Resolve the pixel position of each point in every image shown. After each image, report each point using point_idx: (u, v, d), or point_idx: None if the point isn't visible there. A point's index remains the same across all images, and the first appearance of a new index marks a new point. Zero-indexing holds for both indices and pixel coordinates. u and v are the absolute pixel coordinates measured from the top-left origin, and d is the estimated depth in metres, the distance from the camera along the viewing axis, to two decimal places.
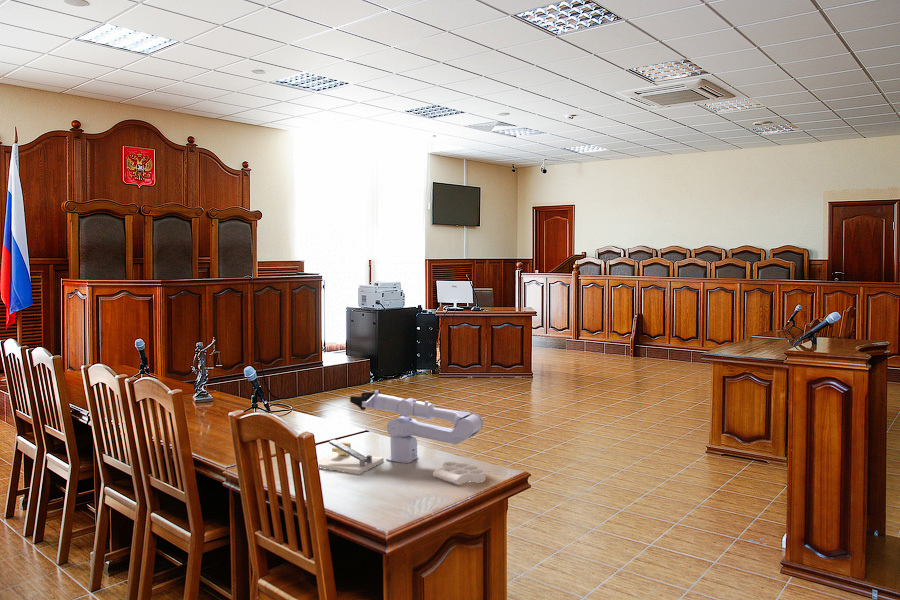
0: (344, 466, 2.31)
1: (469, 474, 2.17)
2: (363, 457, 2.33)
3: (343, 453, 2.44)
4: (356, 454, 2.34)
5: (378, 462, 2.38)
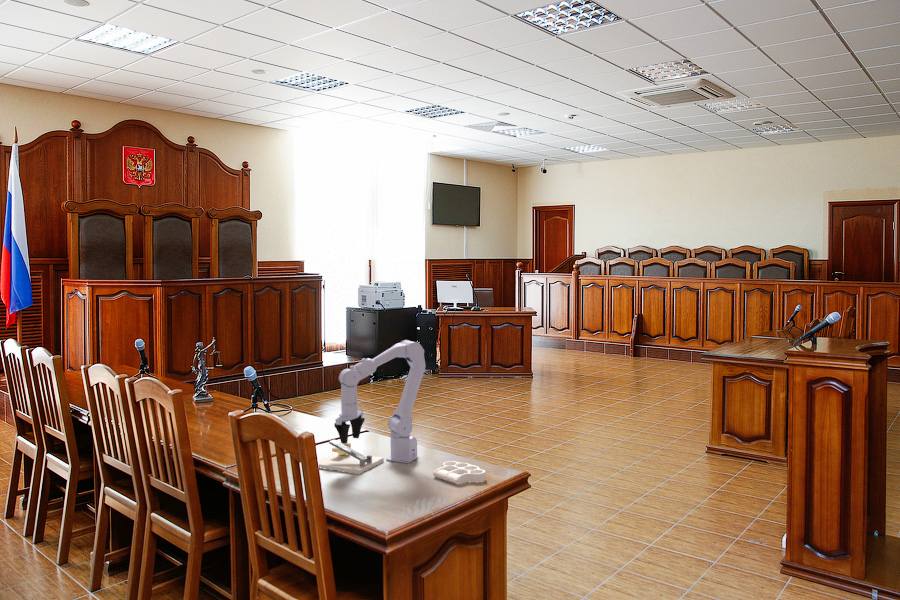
0: (344, 466, 2.31)
1: (469, 474, 2.17)
2: (363, 457, 2.33)
3: (343, 453, 2.44)
4: (356, 454, 2.34)
5: (378, 462, 2.38)
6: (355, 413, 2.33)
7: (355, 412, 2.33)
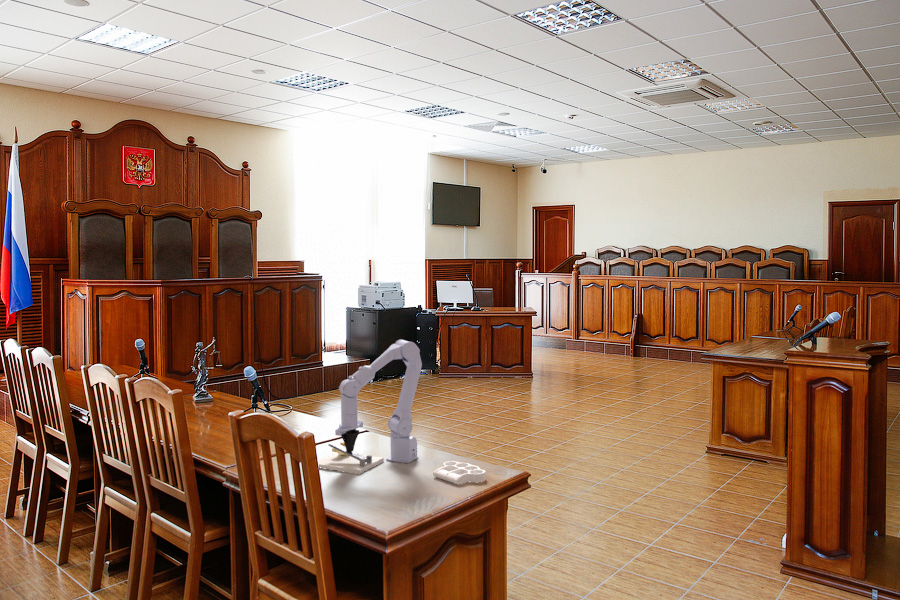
0: (344, 466, 2.31)
1: (469, 474, 2.17)
2: (363, 457, 2.33)
3: (343, 453, 2.44)
4: (356, 455, 2.34)
5: (378, 462, 2.38)
6: (355, 424, 2.33)
7: (355, 423, 2.33)
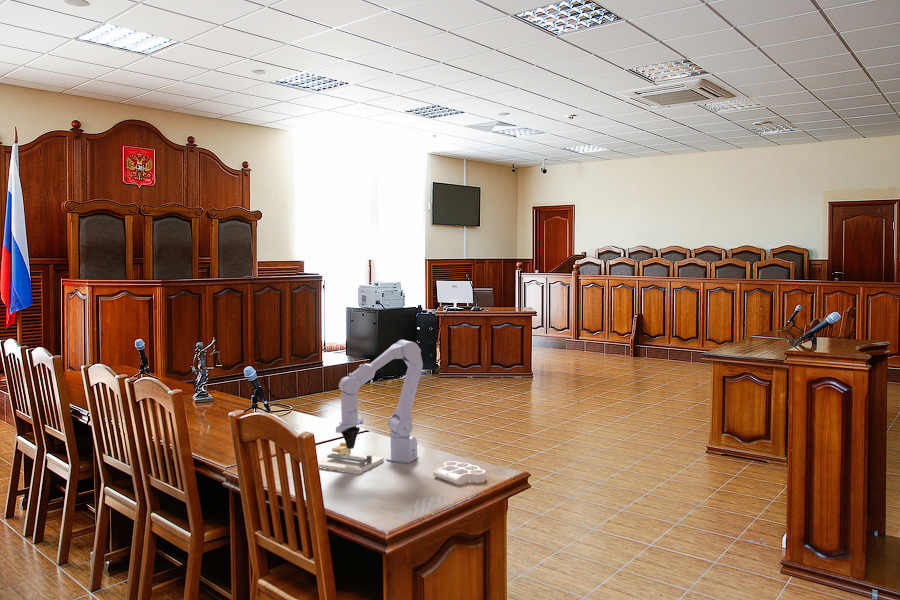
0: (344, 466, 2.31)
1: (469, 474, 2.17)
2: (363, 458, 2.34)
3: (343, 453, 2.44)
4: (355, 458, 2.34)
5: (378, 462, 2.38)
6: (355, 421, 2.33)
7: (355, 420, 2.33)
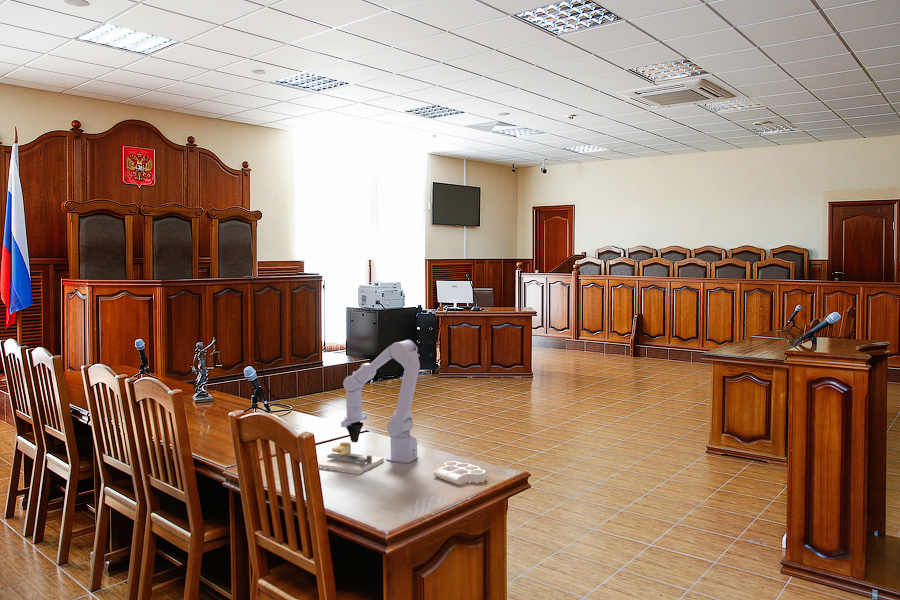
0: (344, 466, 2.31)
1: (469, 474, 2.17)
2: (363, 458, 2.34)
3: (343, 453, 2.44)
4: (355, 458, 2.34)
5: (378, 462, 2.38)
6: (359, 416, 2.49)
7: (359, 415, 2.49)
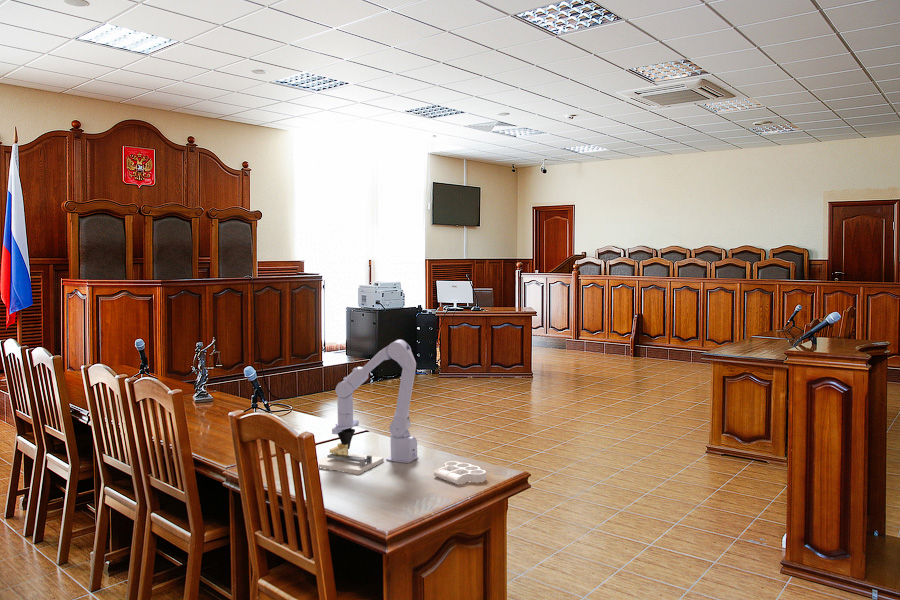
0: (344, 466, 2.31)
1: (469, 474, 2.17)
2: (363, 458, 2.34)
3: None
4: (355, 458, 2.34)
5: (378, 462, 2.38)
6: (351, 423, 2.44)
7: (351, 422, 2.44)
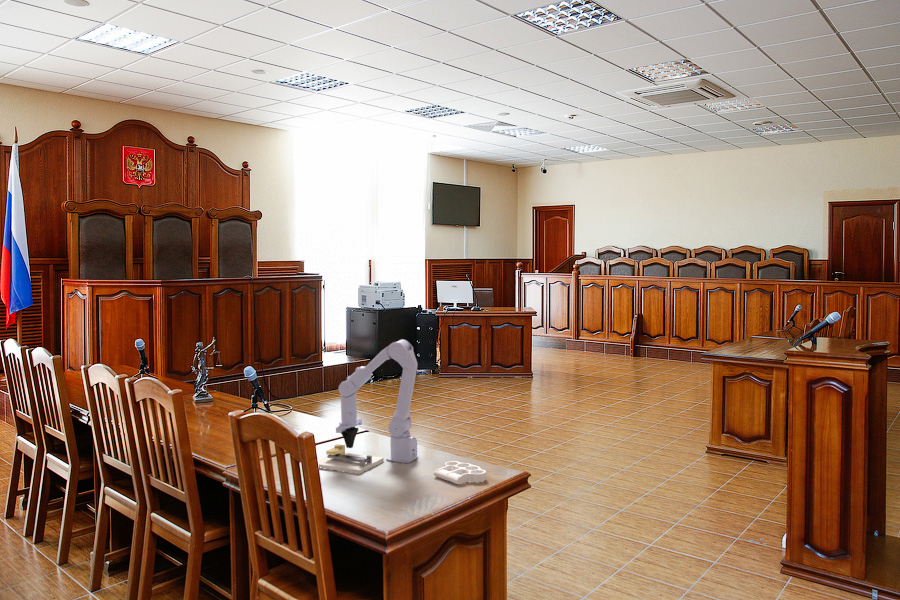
0: (344, 466, 2.31)
1: (470, 474, 2.17)
2: (363, 458, 2.34)
3: None
4: (355, 458, 2.34)
5: (378, 462, 2.38)
6: (354, 421, 2.46)
7: (354, 421, 2.46)
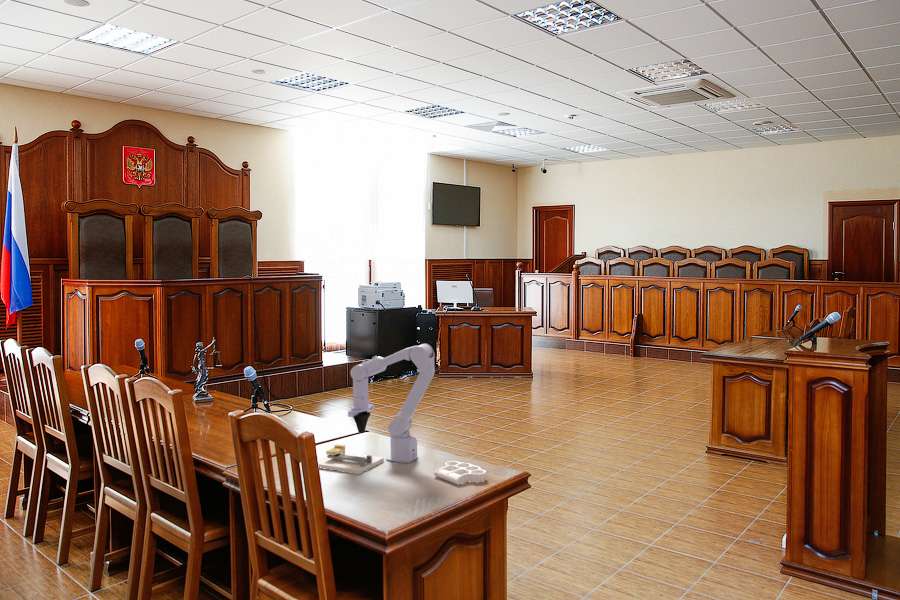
0: (344, 466, 2.31)
1: (470, 474, 2.17)
2: (363, 458, 2.34)
3: None
4: (355, 458, 2.34)
5: (378, 462, 2.38)
6: (366, 406, 2.45)
7: (366, 405, 2.45)
